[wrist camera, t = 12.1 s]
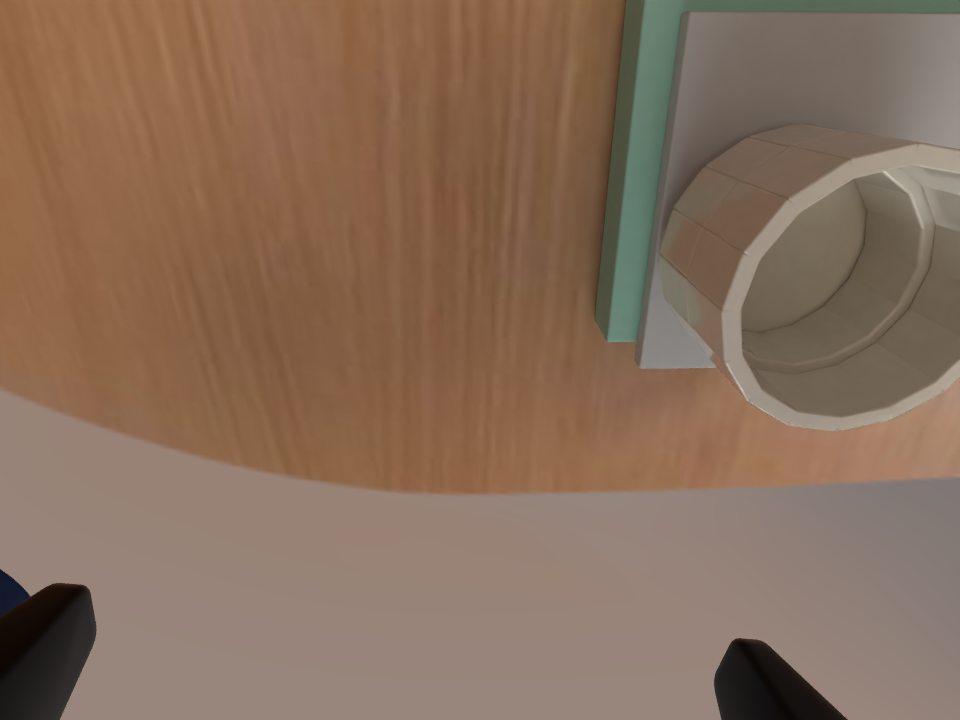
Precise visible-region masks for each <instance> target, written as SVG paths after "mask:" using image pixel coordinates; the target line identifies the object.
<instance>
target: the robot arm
mask: <svg viewBox="0 0 960 720" xmlns="http://www.w3.org/2000/svg"><path fill="white" fill-rule="evenodd" d="M95 637H96V621H95V616H94V610H93V605H92V599H91V594H90V590H89V589H88V588H87V587H86V586H84V585H78V584H77V585H76V584H65V583H56V584H52V585H49V586H47V587H45V588H44V589H42V590H41V591H39V592H37V593H36V594H34V595H33V596H31V597H30V598H28V599H27V600H25V601H24V602H22V603H21V604H19V605H17V606H16V607H14V608H13V609H11V610H10V611H8V612H7V613H5V614H4V615H2V616H1V617H0V720H60V718H61V716H62V713H63V711H64V709H65V707H66V704H67V702H68V700H69V698H70V696H71V693H72V691H73V689H74V687H75V685H76V682H77V680H78V678H79V676H80V673H81V671H82V669H83V667H84V665H85V662H86V660H87V658H88V656H89V654H90V651H91V649H92V647H93V644H94V641H95ZM714 687H715V694H716V698H717V702H718V707H719V711H720V715H721V719H722V720H847V719H846V718H845V717H844V716H843V715H842V714H841V713H840V712H839V711H838V710H837V709H835V708H834V706H832V705H831V704H830V703H829V702H828V701H827V700H826V699H825V698H824V697H823V696H822V695H821V694H820V693H819V692H817V690H815V689H814V688H813V687H812V686H811V685H810V684H809V683H808V682H807V681H806V680H805V679H804V678H802V676H801V675H799V674H798V673H797V672H796V671H795V670H794V669H793V668H792V667H791V666H790V665H789V664H788V663H787V662H786V661H785V660H784V659H782V658H781V657H780V656H779V655H778V654H777V653H776V652H775V651H774V650H773V649H772V648H771V647H770V646H768V645H767V644H766V643H764V642H762V641H760V640H753V639H742V638H738V639H735V640H733V641H732V642H731V644H730V645H729V647H728V649H727V651H726V653H725V655H724V657H723V659H722V661H721V663H720V665H719V667H718V669H717V671H716V674H715V679H714Z"/></svg>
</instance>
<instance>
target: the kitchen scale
mask: <svg viewBox="0 0 960 720" xmlns="http://www.w3.org/2000/svg"><path fill="white" fill-rule="evenodd" d="M795 124H798V125H800V124H806V125H813V126H819V127H826V128H832V129H839V130H845V131H851V132H858V133H865V134H871V135H878V136H884V137H891V138H897V139H904V140H910V141H916V142H922V143H928V144H933V145H938V146H944V147H949V148H955V149H960V0H626V8H625V18H624V28H623V38H622V48H621V59H620V69H619V79H618V89H617V99H616V109H615V119H614V130H613V140H612V150H611V160H610V170H609V180H608V190H607V201H606V211H605V221H604V231H603V241H602V251H601V261H600V271H599V282H598V292H597V302H596V312H595V321H596V323H597V324H598V326H599V328H600V330H601V331H602V333H603V335H604V337H605V339H606V340H607V341H608V342H637V346H636V353H635V362H636V363H637V365H638V366H639V368H641V369H653V368H717V366H716V365H715V364H714V363H713V362H712V361H711V360H710V358H709V357H708V356H707V355H706V354H705V353H704V351H703V350H702V349H701V348H700V347H699V346H698V345H697V343H696V342H695V341H694V340H693V339H692V338H691V337H690V336H689V334H688V333H687V332H686V331H685V330H684V329H683V328H682V326H681V325H680V323H679V321H678V320H677V318H676V317H675V315H674V313H673V312H672V310H671V308H670V307H669V305H668V303H667V302H666V300H665V299H664V295H663V292H662V282H661V272H660V262H659V254H660V249H661V245H662V242H663V239H664V236H665V232H666V229H667V226H668V223H669V219H670V216H671V213H672V210H673V209H674V206H675V204H676V203H677V202H678V200H679V199H680V198H681V196H682V195H683V194H684V192H685V191H686V190H687V188H688V187H689V186H690V184H691V183H692V182H693V180H694V179H695V178H696V176H697V175H698V174H699V172H700V171H701V169H702V168H704V167H706V165H707V164H708V163H710V162H711V161H713V160H714V159H716V158H717V157H719V156H720V155H722V154H723V153H724V152H726V151H727V150H729V149H730V148H732V147H733V146H735V145H736V144H738V143H739V142H741V141H742V140H744V139H745V138H747V137H750V136H752V135H754V134H758V133H762V132H766V131H770V130H774V129H778V128H783V127H787V126H791V125H795Z"/></svg>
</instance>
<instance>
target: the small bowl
mask: <svg viewBox="0 0 960 720" xmlns="http://www.w3.org/2000/svg"><path fill="white" fill-rule="evenodd" d="M659 262H660V272H661V282H662V292H663V295H664V299H665V300H666V302H667V303H668V305H669V307H670V308H671V310H672V312H673V313H674V315H675V317H676V318H677V320H678V321H679V323H680V325H681V326H682V328H683V329H684V330H685V331H686V332H687V333H688V334H689V336H690V337H691V338H692V339H693V340H694V341H695V342H696V343H697V345H698V346H699V347H700V348H701V349H702V350H703V351H704V353H705V354H706V355H707V356H708V357H709V358H710V360H711V361H712V362H713V363H714V364H715V365H716V366H717V368H718V369H719V370H720V371H721V372H722V373H723V374H724V375H725V377H726V378H727V379H728V380H729V381H730V382H731V383H732V385H733V386H734V387H735V388H736V389H737V390H738V391H739V392H740V394H741V395H742V396H743V397H744V398H745V399H746V400H747V401H748V402H749V403H750V404H752V405H754V406H755V407H757V408H759V409H760V410H762V411H764V412H765V413H767V414H769V415H770V416H772V417H774V418H775V419H777V420H779V421H780V422H782V423H784V424H787V425H789V426H797V427H805V428H813V429H821V430H829V431H841V430H846V429H851V428H856V427H860V426H865V425H870V424H875V423H880V422H884V421H889V420H890V419H894V418H896V417H898V416H900V415H902V414H903V413H905V412H907V411H909V410H911V409H913V408H915V407H917V406H919V405H921V404H922V403H924V402H926V401H928V400H930V399H932V398H934V397H936V396H938V395H940V394H941V393H943V391H946V390H947V389H948V388H949V387H950V386H951V385H952V384H953V383H955V382H956V381H957V380H958V379H959V378H960V149H955V148H949V147H944V146H938V145H933V144H928V143H922V142H916V141H910V140H904V139H897V138H891V137H884V136H878V135H871V134H865V133H858V132H851V131H845V130H839V129H832V128H826V127H819V126H813V125H806V124H800V125H798V124H795V125H791V126H787V127H783V128H778V129H774V130H770V131H766V132H762V133H758V134H754V135H752V136H750V137H747V138H745V139H744V140H742V141H741V142H739V143H738V144H736V145H735V146H733V147H732V148H730V149H729V150H727V151H726V152H724V153H723V154H722V155H720V156H719V157H717V158H716V159H714V160H713V161H711V162H710V163H708V164H707V165H706V167H704V168H702V169H701V171H700V172H699V174H698V175H697V176H696V178H695V179H694V180H693V182H692V183H691V184H690V186H689V187H688V188H687V190H686V191H685V192H684V194H683V195H682V196H681V198H680V199H679V200H678V202H677V203H676V204H675V206H674V209H673V210H672V213H671V216H670V219H669V223H668V226H667V229H666V232H665V236H664V239H663V242H662V245H661V249H660V254H659Z"/></svg>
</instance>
